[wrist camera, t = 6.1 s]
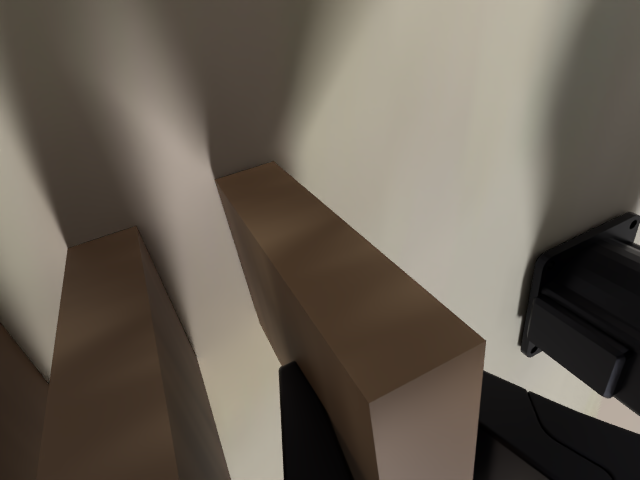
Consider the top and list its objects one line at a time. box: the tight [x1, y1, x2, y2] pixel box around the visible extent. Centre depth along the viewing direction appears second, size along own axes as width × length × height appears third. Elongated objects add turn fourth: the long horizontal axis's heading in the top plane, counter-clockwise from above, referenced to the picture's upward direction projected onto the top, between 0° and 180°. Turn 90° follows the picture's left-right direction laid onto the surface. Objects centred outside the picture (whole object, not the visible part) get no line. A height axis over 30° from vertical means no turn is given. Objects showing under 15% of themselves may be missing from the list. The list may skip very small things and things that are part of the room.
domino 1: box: [36, 226, 231, 480], centre depth 8 cm, size 2×5×8 cm, turn 10°
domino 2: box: [215, 161, 486, 480], centre depth 9 cm, size 2×5×8 cm, turn 9°
